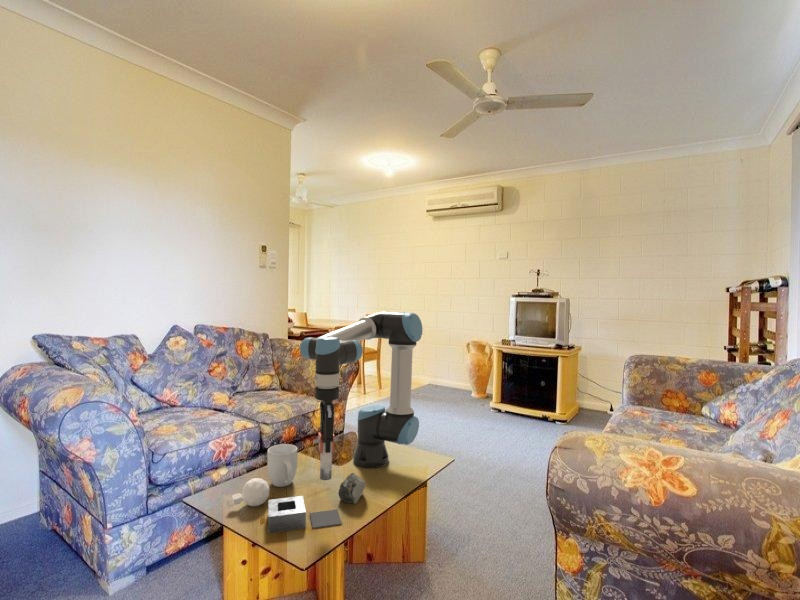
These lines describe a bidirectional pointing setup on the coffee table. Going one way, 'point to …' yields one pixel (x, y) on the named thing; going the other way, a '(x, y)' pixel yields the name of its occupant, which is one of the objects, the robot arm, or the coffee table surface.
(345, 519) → the coffee table surface
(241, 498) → the perfume bottle
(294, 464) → the mug
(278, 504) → the block
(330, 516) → the mat
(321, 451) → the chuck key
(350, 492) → the stone
